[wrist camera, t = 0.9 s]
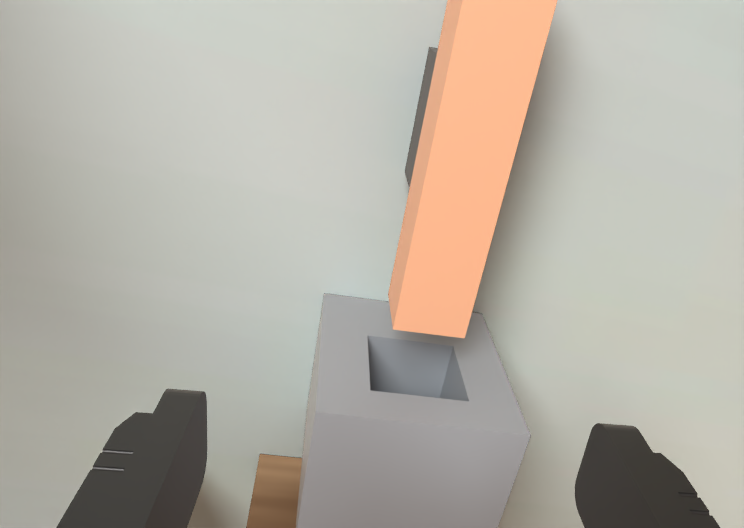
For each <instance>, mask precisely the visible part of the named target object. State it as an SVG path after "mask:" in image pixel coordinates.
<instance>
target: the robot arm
mask: <svg viewBox="0 0 744 528" xmlns="http://www.w3.org/2000/svg"><path fill="white" fill-rule="evenodd" d="M206 461H207V401H206V394H205V392H203V391H190V390H177V389H167V390H166V391H165V392H164V394H163V395H162V397H161V399H160V401H159V403H158V405H157V407H156V409H155V411H154V413H153V414H151V413H138V412H136V413H134V414H133V415H132V416H131V417H129V418H128V419H127V420H125V421H124V422H123V423H122V424H120V425H119V426H118V427H117V428H115V429H114V431H113V433H112V435H111V436H110V438H109V440H108V441H107V443H106V445H105V446H104V448H103V452H102V453H100V455H99V457H98V458H97V460H96V462H95V463H94V465H93V469H92V470H90V472H89V473H88V475H87V477H86V479H85V480H84V482H83V484H82V485H81V487H80V489H79V490H78V492H77V494H76V495H75V497H74V499H73V500H72V502H71V504H70V506H69V507H68V509H67V511H66V512H65V514H64V516H63V517H62V519H61V521H60V522H59V524H58V526H57V528H187V526H188V523H189V520H190V517H191V514H192V511H193V508H194V506H195V503H196V500H197V497H198V494H199V491H200V488H201V485H202V482H203V478H204V474H205V468H206ZM575 500H576V506H577V510H578V512H579V515H580V517H581V520H582V522H583V525H584V527H585V528H720V527H719V525H718V524H717V522H716V521H715V519H714V518H713V516H710V515H709V510H708V509H707V507H706V506H705V504H704V503H703V501H702V500H701V498H698V497H697V492H696V491H695V489H694V488H693V486H692V485H691V483H690V482H689V480H688V479H687V477H686V476H685V474H684V473H683V472H682V471H681V470H680V469H679V468H677V467H676V466H675V465H674V464H673V463H672V462H670V461H669V460H668V459H667V458H666V457H665V456H663V455H662V454H661V453H653V452H652V450H651V449H650V447H649V446H648V444H647V443H646V441H645V439H644V438H643V436H642V435H641V433H640V432H639V430H638V429H637V428H636V427H634V426H626V425H613V424H600V423H598V424H596V425H594V427H593V428H592V430H591V433H590V436H589V439H588V443H587V446H586V449H585V452H584V456H583V459H582V462H581V465H580V469H579V472H578V475H577V479H576V484H575Z"/></svg>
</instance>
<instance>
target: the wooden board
mask: <svg viewBox="0 0 744 528" xmlns="http://www.w3.org/2000/svg"><path fill="white" fill-rule="evenodd" d="M301 465H302V458H295V457H285V456H275V455H265V454H260V456H259V461H258V467H257V472H256V478H255V483H254V488H253V494H252V499H251V505H250V510H249V516H248V521H247V526H246V528H296V518H297V508H298V497H299V486H300V476H301Z"/></svg>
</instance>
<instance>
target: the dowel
mask: <svg viewBox="0 0 744 528" xmlns="http://www.w3.org/2000/svg"><path fill="white" fill-rule="evenodd" d="M556 4H557V0H448V1H447V6H446V11H445V16H444V21H443V26H442V31H441V36H440V41H439V46H438V51H437V56H436V61H435V66H434V71H433V75H432V80H431V85H430V90H429V95H428V100H427V105H426V110H425V115H424V120H423V125H422V130H421V135H420V140H419V145H418V150H417V155H416V159H415V164H414V169H413V174H412V179H411V184H410V189H409V194H408V199H407V204H406V209H405V214H404V219H403V224H402V229H401V234H400V239H399V243H398V248H397V253H396V258H395V263H394V268H393V273H392V278H391V283H390V288H389V293H388V296H389V304H390V312H391V319H392V327H393V330H401V331H409V332H417V333H425V334H433V335H441V336H449V337H457V338H465V336H466V332H467V328H468V325H469V321H470V317H471V314H472V310H473V306H474V303H475V299H476V296H477V292H478V288H479V285H480V281H481V277H482V274H483V270H484V266H485V263H486V259H487V255H488V252H489V248H490V244H491V241H492V237H493V233H494V230H495V226H496V223H497V219H498V215H499V212H500V208H501V204H502V201H503V197H504V193H505V190H506V186H507V182H508V179H509V175H510V171H511V168H512V164H513V160H514V157H515V153H516V150H517V146H518V142H519V139H520V135H521V131H522V128H523V124H524V120H525V117H526V113H527V109H528V106H529V102H530V98H531V95H532V91H533V87H534V84H535V80H536V77H537V73H538V69H539V66H540V62H541V58H542V55H543V51H544V47H545V44H546V40H547V36H548V33H549V29H550V25H551V22H552V18H553V14H554V11H555V7H556Z"/></svg>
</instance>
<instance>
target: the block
mask: <svg viewBox="0 0 744 528" xmlns="http://www.w3.org/2000/svg"><path fill="white" fill-rule="evenodd" d="M530 436H531V434H530V432H529V429H528V427H527V424H526V422H525V419H524V417H523V414H522V412H521V409H520V407H519V404H518V402H517V399H516V397H515V394H514V392H513V390H512V387H511V385H510V382H509V380H508V377H507V375H506V372H505V370H504V367H503V365H502V362H501V360H500V357H499V355H498V352H497V350H496V347H495V345H494V342H493V340H492V337H491V335H490V333H489V330H488V328H487V325H486V323H485V320H484V318H483V315H482V314H481V313H473V312H472V314H471V317H470V321H469V325H468V328H467V332H466V336H465V338H457V337H449V336H441V335H433V334H425V333H417V332H409V331H401V330H393V327H392V319H391V312H390V304H389V302H388V301H380V300H372V299H364V298H357V297H349V296H341V295H333V294H325V293H324V298H323V304H322V311H321V318H320V324H319V331H318V337H317V344H316V351H315V357H314V364H313V371H312V377H311V384H310V391H309V397H308V404H307V412H306V423H305V433H304V444H303V455H302V465H301V476H300V486H299V497H298V508H297V518H296V528H498V526H499V523H500V520H501V517H502V514H503V512H504V509H505V506H506V503H507V501H508V498H509V495H510V492H511V489H512V487H513V484H514V481H515V478H516V475H517V473H518V470H519V467H520V464H521V461H522V459H523V456H524V453H525V450H526V448H527V445H528V442H529V439H530Z"/></svg>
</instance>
